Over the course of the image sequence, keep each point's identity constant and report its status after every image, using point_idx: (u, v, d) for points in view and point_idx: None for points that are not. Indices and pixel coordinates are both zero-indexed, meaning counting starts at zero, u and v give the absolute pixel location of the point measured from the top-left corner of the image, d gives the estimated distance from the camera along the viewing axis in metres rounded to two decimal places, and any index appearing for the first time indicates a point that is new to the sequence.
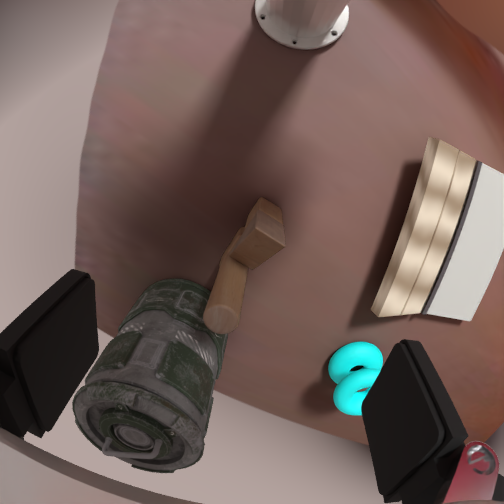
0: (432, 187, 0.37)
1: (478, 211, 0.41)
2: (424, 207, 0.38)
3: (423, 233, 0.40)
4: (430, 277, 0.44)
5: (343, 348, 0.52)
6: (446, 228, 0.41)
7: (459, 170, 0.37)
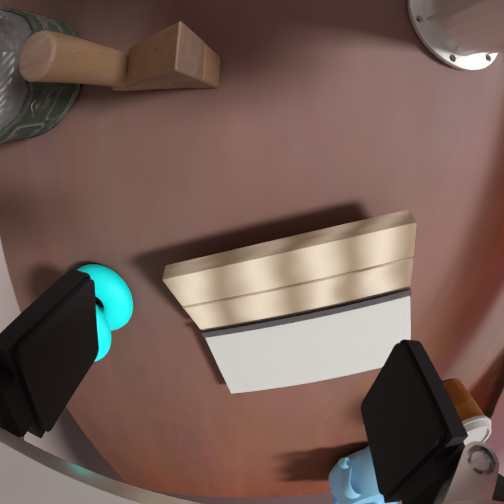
0: (356, 244, 0.30)
1: (354, 324, 0.38)
2: (327, 249, 0.30)
3: (293, 268, 0.32)
4: (247, 313, 0.37)
5: (106, 269, 0.38)
6: (315, 296, 0.35)
7: (389, 270, 0.33)
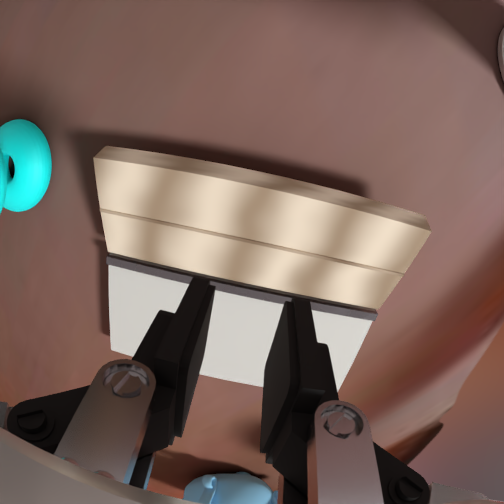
0: (353, 222, 0.23)
1: None
2: (317, 209, 0.22)
3: (262, 216, 0.23)
4: (173, 255, 0.27)
5: (39, 132, 0.25)
6: (266, 269, 0.27)
7: (369, 278, 0.26)
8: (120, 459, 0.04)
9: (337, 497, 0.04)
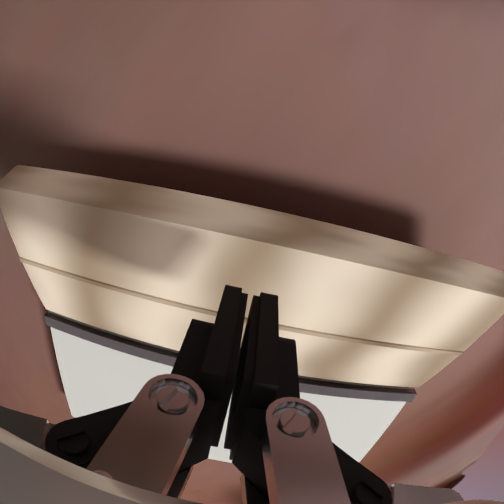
0: (412, 295, 0.13)
1: None
2: (354, 278, 0.12)
3: (257, 285, 0.13)
4: (126, 324, 0.17)
5: None
6: None
7: (416, 359, 0.16)
8: (158, 477, 0.04)
9: (279, 498, 0.04)
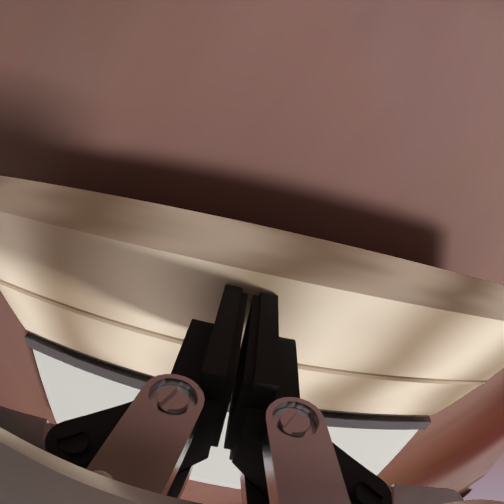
0: (441, 330, 0.10)
1: None
2: (377, 314, 0.10)
3: None
4: (110, 351, 0.15)
5: None
6: None
7: (435, 390, 0.14)
8: (158, 477, 0.04)
9: (279, 498, 0.04)
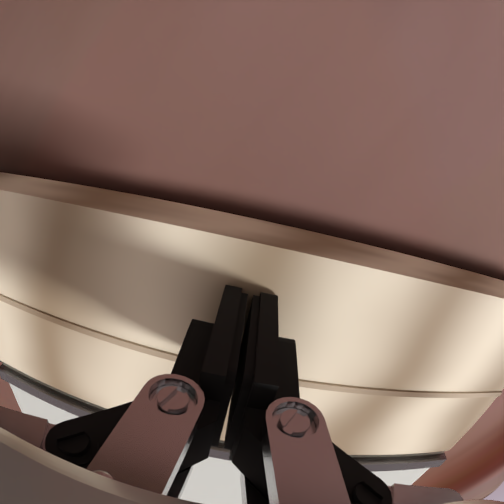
0: (452, 316, 0.10)
1: None
2: (387, 296, 0.09)
3: None
4: (91, 384, 0.12)
5: None
6: None
7: (451, 411, 0.12)
8: (158, 477, 0.04)
9: (279, 498, 0.04)
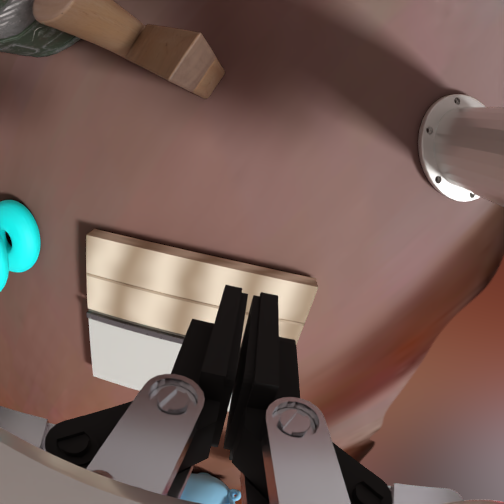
0: (258, 284, 0.34)
1: None
2: (232, 275, 0.34)
3: (196, 281, 0.34)
4: (135, 312, 0.36)
5: (28, 214, 0.33)
6: None
7: None
8: (158, 477, 0.04)
9: (279, 498, 0.04)
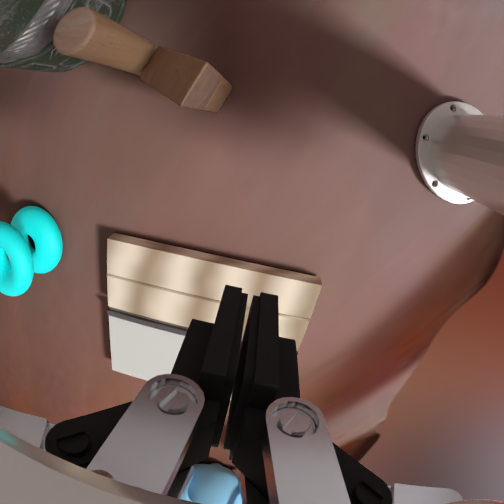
0: (266, 282, 0.37)
1: None
2: (242, 275, 0.37)
3: (209, 280, 0.38)
4: (153, 309, 0.40)
5: (50, 219, 0.37)
6: (214, 319, 0.40)
7: (285, 323, 0.39)
8: (158, 477, 0.04)
9: (279, 498, 0.04)
